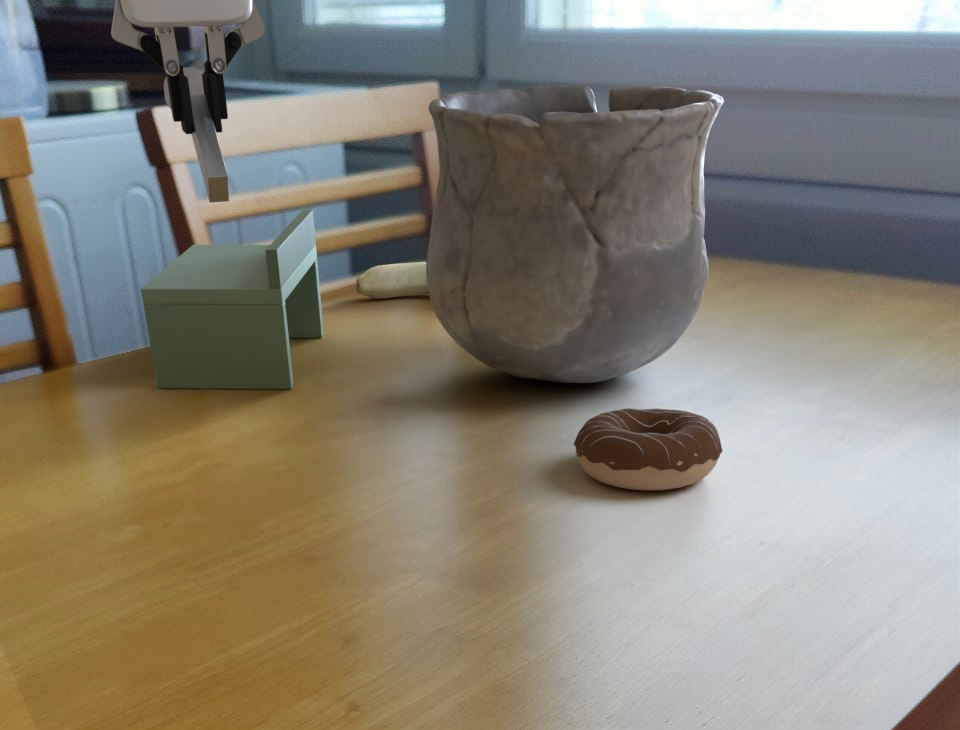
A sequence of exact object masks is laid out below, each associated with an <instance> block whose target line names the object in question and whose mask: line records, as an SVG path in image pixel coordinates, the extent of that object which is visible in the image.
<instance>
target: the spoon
mask: <svg viewBox="0 0 960 730" xmlns="http://www.w3.org/2000/svg"><path fill="white" fill-rule="evenodd" d="M204 71H205V70H202V69H199V68H196V67H183V72H184V75H185V76H186V77H188V82H189V90H190V97H191V105H192V112H193V120H194V121H193V125H194V132H193V134H191V138H192V142H193V146H194V149H195V154H196V157H197V161H198V165H199V168H200V173H201V176H202V179H203V184H204V188H205V191H206V195H207V198H208V202H209V203H223V202H225V203H226V202H229V201H230V191H229V190H230V189H229V188H230V187H229V175H228V171H227V167H226V164H225V160H224V156H223V151H222V148H221V146H220V141H219V138H218V133H216V130H215V126H214V123H213V120H212V117H211V114H210V110H209V106H208V103H207V99H206V96H205V94H204V88H203V81H202V74H204ZM163 92H164V93H163V94H164V100H165V103H166V105H167V107H168V108H169V109H170V110H171V103H170V96H169V89H168V82H167V75H166V77H165V78H164V81H163Z"/></svg>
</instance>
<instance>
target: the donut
mask: <svg viewBox="0 0 960 730" xmlns="http://www.w3.org/2000/svg"><path fill="white" fill-rule="evenodd" d="M720 438H721V437H720V434H719V431H718V428H717V427H716V425H714V424H713V422H712V421H710V420H709V419H708V418H706V417H705V416H703V415H702V414H696V413H694V412H690V411H687V410H682V409H667V408H642V409H641V408H640V409H639V408H629V407H627V408H621V409H615V410H611V411H607V412H602V413H601V412H600V413H599V414H597V415H595V416H593V417H591V418H589V419H588V420H587V421H585V423H584V424H583V425H582V427H581V428H580V430H579V431H578V432H577V435H576V437H575V439H574V442H573V444H572V445H573V446H574V447H575V454H576V458H577V462H578V463H579V465H580V467H581V469H583V471H585V473H586V474H587V475H589V476H590V477H591V478H592V479H594V480H596V481H598V482H601V483H603V484H605V485H609V486H611V487H615V488H622V489H625V490H626V489H627V490H633V491H668V490H674V489H679V488H683V487H687V486H690V485H693V484H695V483H698V482H699V481H701V480H702V479H704V478H705V477H707V476H708V475H709V474H710V473H711V472H712V471H713V470H714V468H715V467H716V465H717V463H718V461H719V459H720V457H721V456H720V455H721V454H722V453H723V447H722V443H721V439H720Z"/></svg>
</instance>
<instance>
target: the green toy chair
mask: <svg viewBox="0 0 960 730" xmlns="http://www.w3.org/2000/svg"><path fill="white" fill-rule="evenodd" d="M316 241H317V240H316V229H315V218H314V210H313V209H302V210H301V211H300V212H299V213H298V215H296V217H295V218H293V220H292V221H291V222H290V223H288V225H287V226H286V227H285V228H284V229H283V230H282V231H281V232H280V234H278V236H277V237H276V238H275V239H274V240H273V241H272V242H271V243H270V244H192V245H191V246H190V247H188V248H187V249H185V251H184V252H183V253H181V254H180V255H179V256H178V257H177V258H175V259H174V260H173V261H172V262H171V263H169V264H168V265H167V266H166V267H165V268H164V269H162V270H161V271H160V272H159V273H158V274H157V275H155V276H154V277H153V278H152V279H151V280H149V281H148V282H147V283H146V284H145V285H144V286H143V287H141V288H140V293H141V298H142V304H143V311H144V316H145V323H146V328H147V335H148V340H149V346H150V351H151V352H150V353H151V359H152V364H153V370H154V374H155V375H154V376H155V382H156V387H157V389H172V390H173V389H174V390H175V389H179V390H180V389H182V390H183V389H185V390H186V389H188V390H191V389H193V390H196V389H197V390H198V389H200V390H207V389H208V390H211V389H212V390H225V389H226V390H292V388H293V387H294V376H293V364H292V355H291V345H290V339H323V337H324V333H325V332H324V323H323V311H322V309H323V308H322V298H321V288H320V276H319V263H318V252H317V245H316V244H317V242H316Z"/></svg>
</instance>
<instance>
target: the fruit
mask: <svg viewBox="0 0 960 730" xmlns="http://www.w3.org/2000/svg"><path fill="white" fill-rule="evenodd" d="M355 281H356V283H355V284H356V287H355V289H356V294H357V293H358V294H360V295H363V296H366V297H369V298H373V299H392V298H399V297H408V296H420V295H421V296H422V295H430V293H429V290H428V286H427V282H426V261H417V262H416V261H415V262H400V263H391V264H389V263H388V264H382V265H381V264H380V265H375V266H373V267H370V268H368V269H367V270H366V271H364V272H363V273H361V274H360V275H359V276H357V277H356V280H355Z"/></svg>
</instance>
